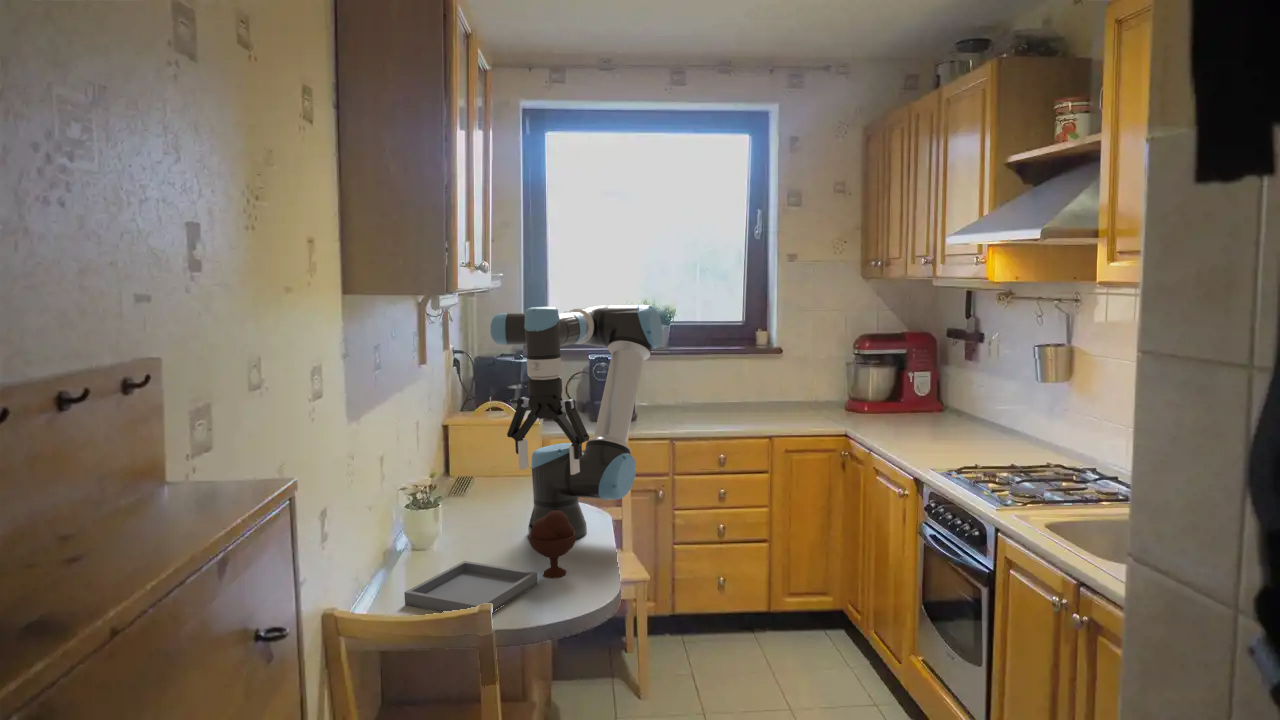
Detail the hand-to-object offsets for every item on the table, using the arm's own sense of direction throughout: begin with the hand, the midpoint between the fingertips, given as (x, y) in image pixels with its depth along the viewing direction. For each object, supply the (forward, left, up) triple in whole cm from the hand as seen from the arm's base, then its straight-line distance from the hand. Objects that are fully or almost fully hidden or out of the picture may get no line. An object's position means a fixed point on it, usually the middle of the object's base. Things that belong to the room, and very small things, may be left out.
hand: (549, 470), depth 195 cm
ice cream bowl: (0, 0, -24) cm, 24 cm away
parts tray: (+17, -10, -24) cm, 31 cm away
